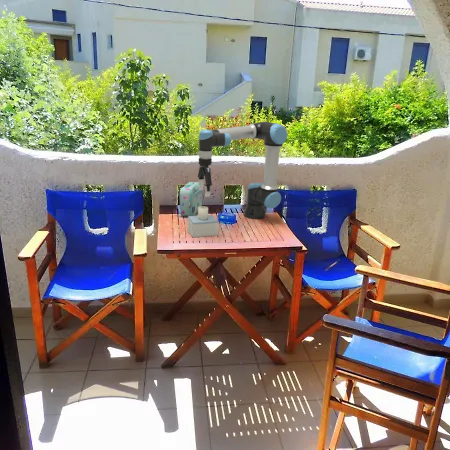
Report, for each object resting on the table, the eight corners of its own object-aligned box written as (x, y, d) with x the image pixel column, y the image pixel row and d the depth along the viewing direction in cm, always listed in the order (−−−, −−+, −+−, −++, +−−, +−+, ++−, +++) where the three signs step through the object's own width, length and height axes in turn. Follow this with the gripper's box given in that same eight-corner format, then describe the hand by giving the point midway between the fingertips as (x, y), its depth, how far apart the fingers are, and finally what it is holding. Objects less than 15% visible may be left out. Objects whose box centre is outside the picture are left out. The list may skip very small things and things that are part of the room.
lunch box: (193, 219, 279) (193, 188, 271) (178, 218, 280) (178, 187, 273) (203, 208, 303) (204, 179, 296) (189, 206, 305) (190, 177, 298)
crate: (212, 228, 265) (212, 216, 262) (218, 235, 255) (218, 222, 252) (187, 230, 260) (187, 218, 257) (192, 237, 249) (192, 224, 247)
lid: (212, 216, 262) (212, 214, 262) (218, 222, 252) (218, 221, 251) (188, 217, 257) (188, 216, 257) (193, 224, 247) (193, 222, 246)
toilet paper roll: (206, 216, 258) (206, 205, 255) (209, 220, 252) (209, 208, 250) (196, 217, 256) (197, 206, 253) (199, 220, 250) (199, 209, 248)
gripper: (193, 153, 251) (192, 187, 258) (205, 162, 229) (204, 199, 237) (205, 153, 253) (204, 187, 261) (218, 162, 232) (216, 198, 239)
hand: (204, 193), depth 249 cm, fingers open, 13 cm apart
